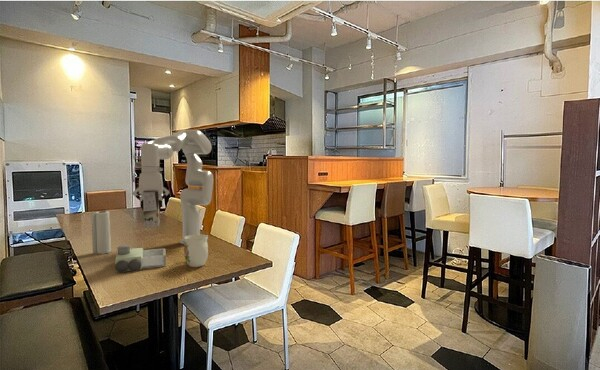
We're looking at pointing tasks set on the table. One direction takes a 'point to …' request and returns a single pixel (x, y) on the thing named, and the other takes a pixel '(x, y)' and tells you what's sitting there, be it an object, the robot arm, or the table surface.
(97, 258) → the table surface
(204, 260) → the pitcher
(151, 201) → the coffee box
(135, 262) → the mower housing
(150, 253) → the grey open drawer
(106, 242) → the grey tall block
